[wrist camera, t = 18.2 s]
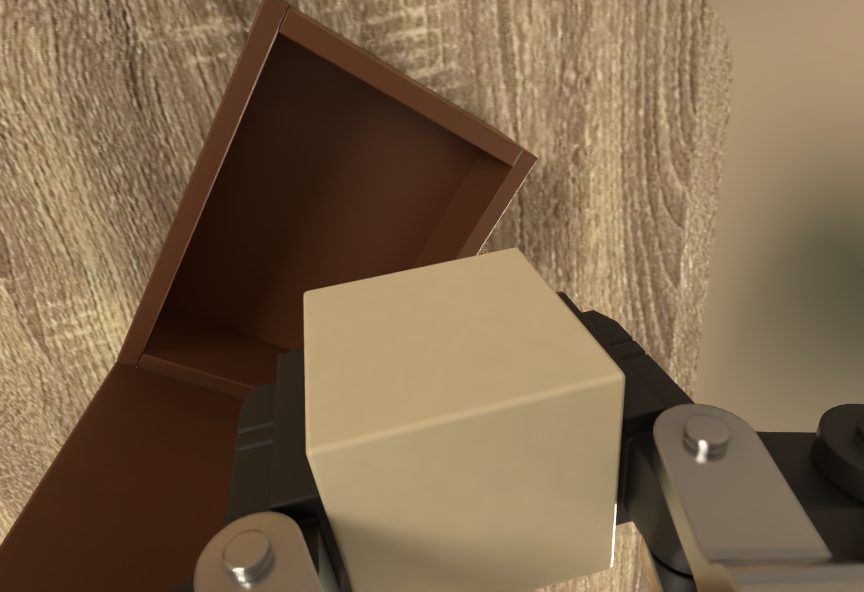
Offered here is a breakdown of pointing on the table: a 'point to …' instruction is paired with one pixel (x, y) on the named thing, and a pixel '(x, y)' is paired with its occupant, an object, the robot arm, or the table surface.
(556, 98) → the table surface
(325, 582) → the robot arm
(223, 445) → the box cover
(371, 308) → the block
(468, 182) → the wooden box
